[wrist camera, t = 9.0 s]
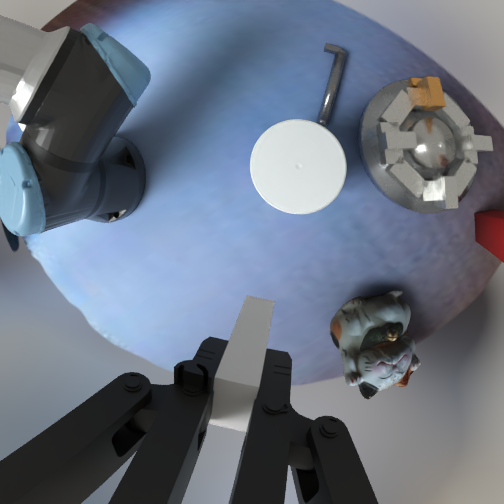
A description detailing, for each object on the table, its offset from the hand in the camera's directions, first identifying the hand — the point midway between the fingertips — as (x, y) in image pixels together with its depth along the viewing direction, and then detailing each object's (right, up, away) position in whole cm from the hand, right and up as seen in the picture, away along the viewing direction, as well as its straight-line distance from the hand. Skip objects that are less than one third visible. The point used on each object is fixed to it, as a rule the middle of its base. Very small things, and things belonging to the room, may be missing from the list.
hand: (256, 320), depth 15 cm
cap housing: (+25, +20, +20) cm, 37 cm away
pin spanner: (+11, +28, +20) cm, 36 cm away
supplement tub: (+6, +16, +24) cm, 30 cm away
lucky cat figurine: (+20, -8, +28) cm, 36 cm away
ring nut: (+24, +19, +17) cm, 35 cm away
